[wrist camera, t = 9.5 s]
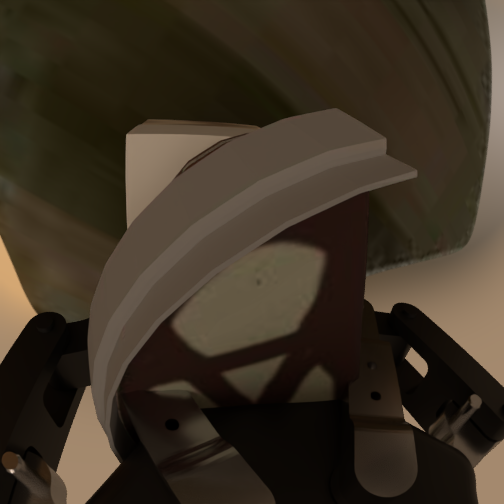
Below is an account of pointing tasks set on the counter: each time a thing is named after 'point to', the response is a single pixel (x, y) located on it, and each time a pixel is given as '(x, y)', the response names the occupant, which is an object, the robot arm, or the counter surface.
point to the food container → (243, 274)
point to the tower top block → (163, 158)
